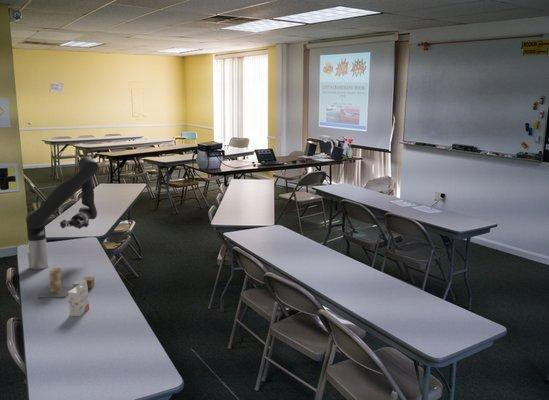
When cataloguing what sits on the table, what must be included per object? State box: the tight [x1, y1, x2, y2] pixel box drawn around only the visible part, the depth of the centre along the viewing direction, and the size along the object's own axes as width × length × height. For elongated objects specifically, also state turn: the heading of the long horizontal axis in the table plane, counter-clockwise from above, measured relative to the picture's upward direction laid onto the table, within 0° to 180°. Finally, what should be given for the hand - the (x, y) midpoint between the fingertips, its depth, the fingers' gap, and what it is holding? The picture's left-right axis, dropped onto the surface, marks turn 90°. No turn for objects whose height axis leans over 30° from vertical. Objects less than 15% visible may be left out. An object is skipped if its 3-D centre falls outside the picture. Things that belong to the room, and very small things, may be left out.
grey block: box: [72, 279, 86, 289], centre depth 243 cm, size 5×5×6 cm
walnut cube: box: [81, 276, 95, 290], centre depth 251 cm, size 5×5×5 cm
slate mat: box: [38, 285, 73, 299], centre depth 244 cm, size 13×13×1 cm
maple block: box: [48, 267, 62, 293], centre depth 242 cm, size 4×4×12 cm
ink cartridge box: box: [67, 281, 90, 317], centre depth 221 cm, size 9×5×15 cm, turn 168°
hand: (70, 226), depth 261 cm, fingers open, 8 cm apart
